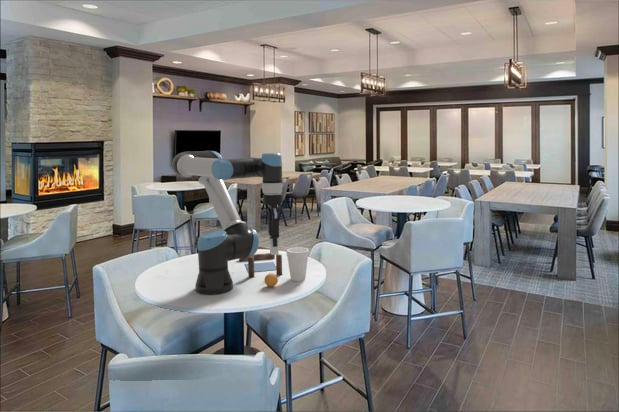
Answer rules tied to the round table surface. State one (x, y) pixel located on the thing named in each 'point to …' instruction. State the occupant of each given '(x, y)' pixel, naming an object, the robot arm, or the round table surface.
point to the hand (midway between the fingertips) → (274, 253)
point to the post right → (279, 264)
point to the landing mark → (263, 266)
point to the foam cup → (297, 263)
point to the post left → (251, 266)
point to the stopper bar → (259, 257)
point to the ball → (271, 280)
